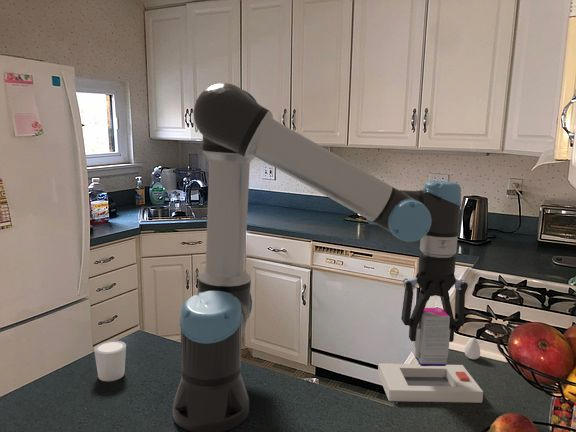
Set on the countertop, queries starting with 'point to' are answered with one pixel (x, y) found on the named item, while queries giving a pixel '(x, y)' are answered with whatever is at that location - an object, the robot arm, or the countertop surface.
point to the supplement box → (433, 337)
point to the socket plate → (429, 383)
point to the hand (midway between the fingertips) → (429, 354)
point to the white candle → (110, 360)
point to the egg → (472, 349)
